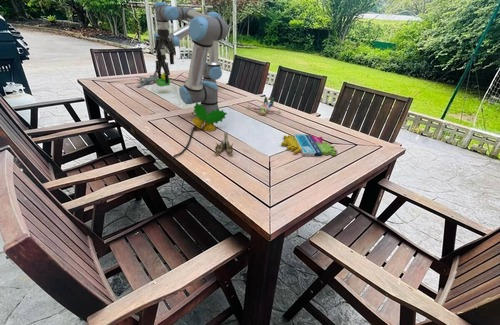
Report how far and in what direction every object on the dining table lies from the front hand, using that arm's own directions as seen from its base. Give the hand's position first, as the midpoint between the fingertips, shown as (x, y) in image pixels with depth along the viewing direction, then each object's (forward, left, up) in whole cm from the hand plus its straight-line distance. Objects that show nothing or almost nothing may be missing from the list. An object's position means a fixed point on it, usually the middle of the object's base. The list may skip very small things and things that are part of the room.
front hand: (165, 62), depth 184 cm
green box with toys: (+37, +4, -25) cm, 45 cm away
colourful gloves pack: (-82, -75, -31) cm, 115 cm away
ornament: (-49, -24, -31) cm, 63 cm away
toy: (-16, -72, -31) cm, 80 cm away
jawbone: (-82, -27, -31) cm, 91 cm away
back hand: (+37, +4, -22) cm, 43 cm away
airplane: (+74, +18, -31) cm, 82 cm away
